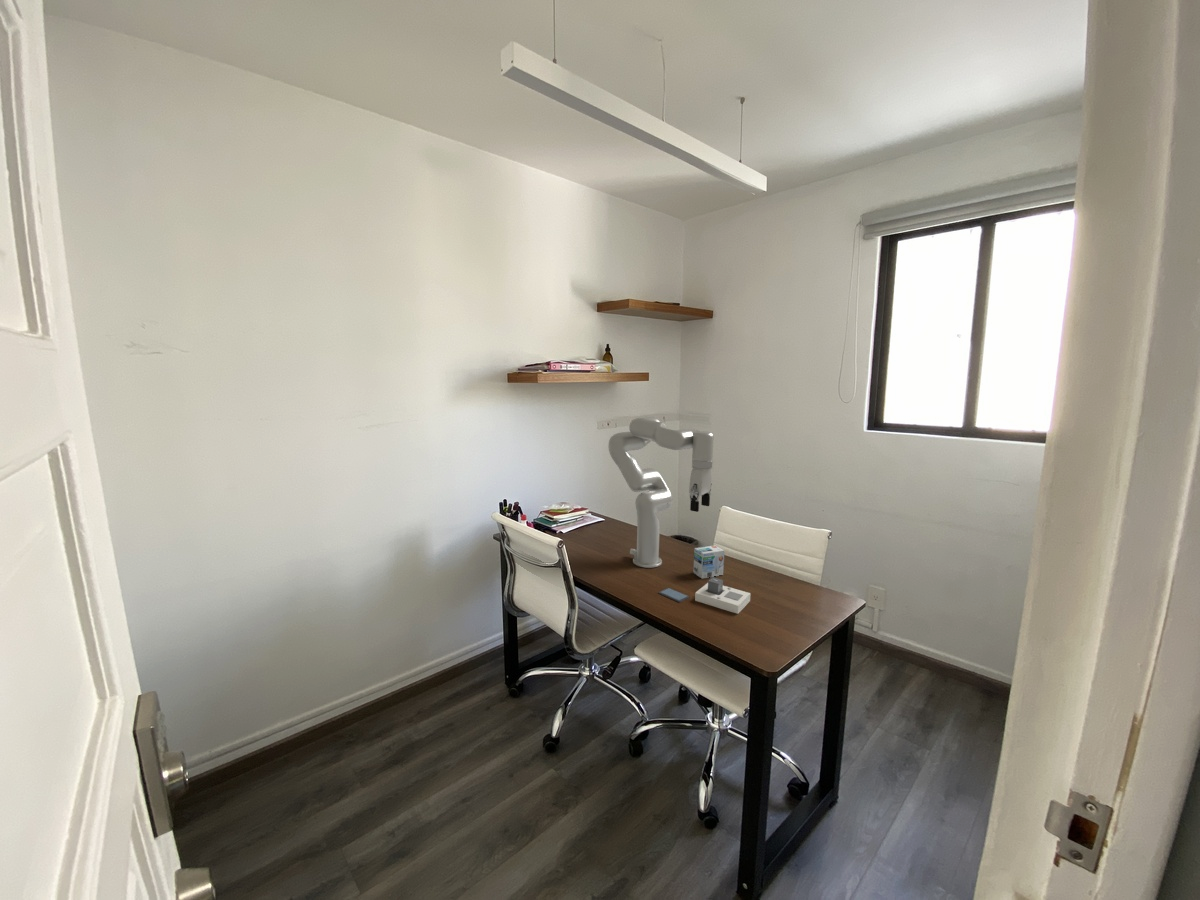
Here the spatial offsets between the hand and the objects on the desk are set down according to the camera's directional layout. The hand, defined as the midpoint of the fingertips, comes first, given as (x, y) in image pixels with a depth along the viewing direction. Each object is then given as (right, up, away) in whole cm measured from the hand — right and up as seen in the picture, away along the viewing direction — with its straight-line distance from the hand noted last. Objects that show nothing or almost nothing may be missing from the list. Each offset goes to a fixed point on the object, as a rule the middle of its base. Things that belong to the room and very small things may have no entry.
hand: (699, 508), depth 183 cm
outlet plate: (+6, -32, -10) cm, 34 cm away
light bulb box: (+6, -29, +13) cm, 33 cm away
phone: (-11, -32, -6) cm, 34 cm away
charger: (+4, -32, -8) cm, 33 cm away
